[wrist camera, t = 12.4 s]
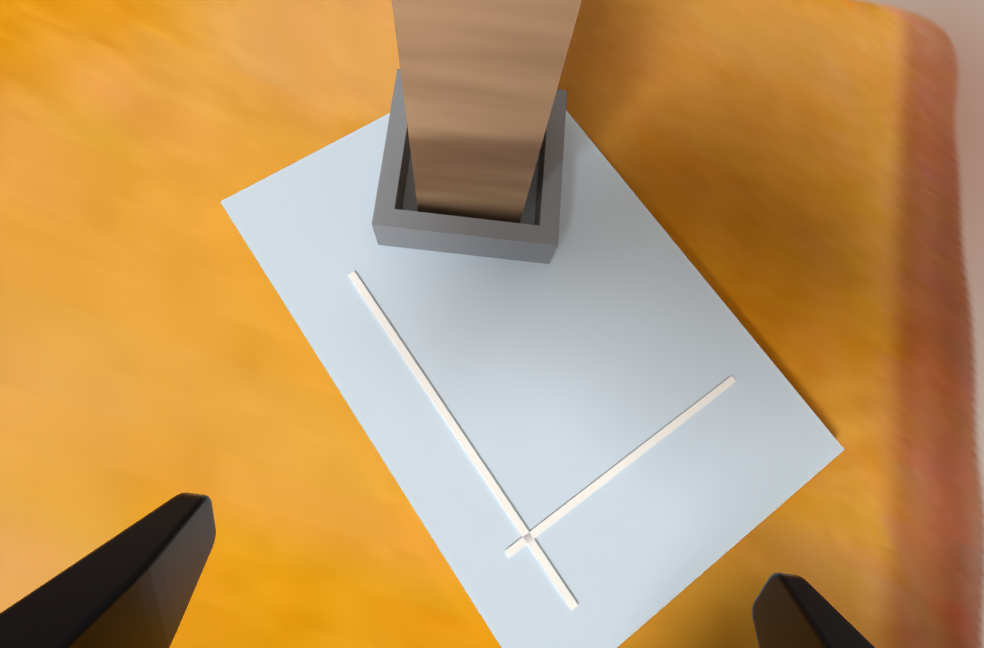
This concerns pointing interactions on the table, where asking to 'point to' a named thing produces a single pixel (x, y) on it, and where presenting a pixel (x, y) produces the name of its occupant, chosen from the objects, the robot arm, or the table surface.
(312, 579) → the table surface
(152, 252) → the table surface
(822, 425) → the baseplate
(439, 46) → the pillar
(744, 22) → the table surface
